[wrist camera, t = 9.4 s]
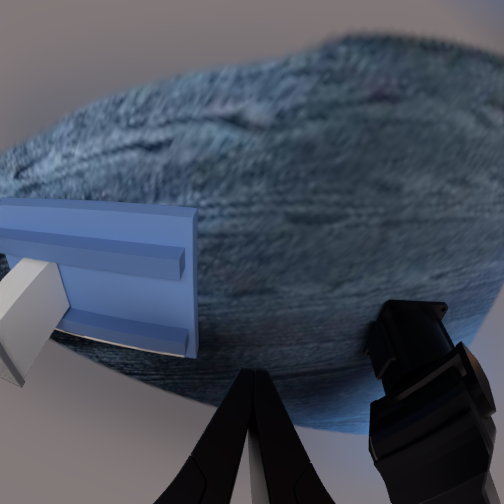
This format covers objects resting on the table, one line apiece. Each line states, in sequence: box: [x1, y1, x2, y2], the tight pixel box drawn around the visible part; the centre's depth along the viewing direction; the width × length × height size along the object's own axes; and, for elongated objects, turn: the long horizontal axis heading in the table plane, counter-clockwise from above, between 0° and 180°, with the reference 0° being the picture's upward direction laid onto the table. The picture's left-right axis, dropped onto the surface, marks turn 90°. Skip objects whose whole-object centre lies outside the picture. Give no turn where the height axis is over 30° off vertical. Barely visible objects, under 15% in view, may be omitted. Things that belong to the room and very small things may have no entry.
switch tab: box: [0, 258, 70, 387], centre depth 17 cm, size 3×5×9 cm, turn 175°
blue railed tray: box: [0, 198, 199, 358], centre depth 21 cm, size 18×13×3 cm
